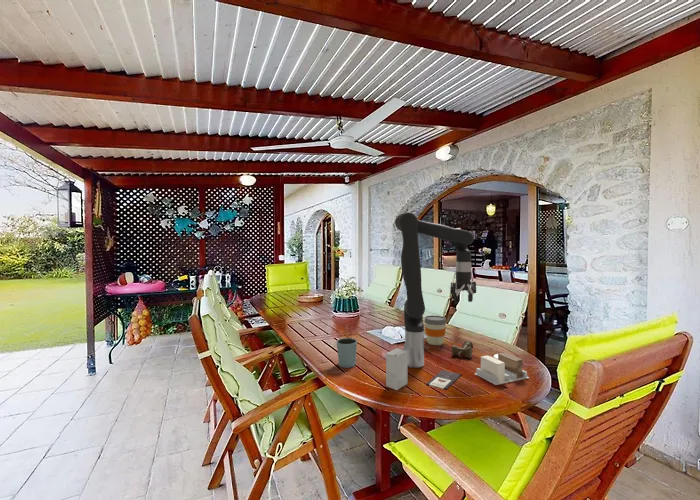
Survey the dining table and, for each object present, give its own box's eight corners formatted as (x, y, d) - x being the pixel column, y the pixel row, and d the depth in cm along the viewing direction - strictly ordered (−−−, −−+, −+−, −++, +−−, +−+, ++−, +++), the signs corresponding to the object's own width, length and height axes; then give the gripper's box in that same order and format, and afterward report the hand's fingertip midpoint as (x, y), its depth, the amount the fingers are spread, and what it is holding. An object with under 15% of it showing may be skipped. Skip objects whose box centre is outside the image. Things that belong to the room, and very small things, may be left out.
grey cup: (360, 363, 175) (360, 339, 175) (350, 369, 167) (350, 345, 166) (343, 359, 181) (343, 336, 180) (332, 366, 172) (332, 342, 171)
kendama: (477, 351, 192) (467, 361, 176) (460, 349, 198) (449, 358, 181) (477, 340, 192) (467, 350, 176) (459, 338, 198) (448, 347, 181)
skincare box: (396, 380, 154) (396, 347, 153) (408, 384, 150) (408, 350, 149) (385, 386, 148) (385, 352, 147) (397, 391, 144) (396, 355, 143)
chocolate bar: (461, 374, 159) (446, 388, 144) (461, 376, 159) (446, 391, 144) (442, 369, 164) (426, 383, 150) (442, 371, 164) (426, 385, 150)
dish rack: (495, 387, 146) (495, 379, 146) (474, 375, 158) (474, 368, 158) (529, 379, 153) (529, 372, 153) (506, 369, 165) (506, 362, 165)
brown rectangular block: (515, 378, 152) (515, 360, 152) (498, 370, 162) (498, 353, 161) (522, 377, 154) (522, 359, 153) (504, 369, 163) (504, 352, 163)
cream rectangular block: (497, 382, 149) (497, 364, 148) (480, 373, 158) (480, 356, 158) (504, 380, 150) (504, 362, 150) (487, 372, 160) (487, 355, 159)
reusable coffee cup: (447, 346, 200) (447, 320, 199) (425, 345, 202) (425, 320, 201) (444, 340, 212) (444, 315, 212) (423, 339, 214) (423, 315, 214)
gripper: (456, 271, 170) (456, 304, 171) (480, 270, 175) (479, 302, 176) (447, 270, 177) (447, 302, 178) (469, 269, 182) (469, 300, 183)
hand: (463, 302), depth 177 cm, fingers open, 8 cm apart
